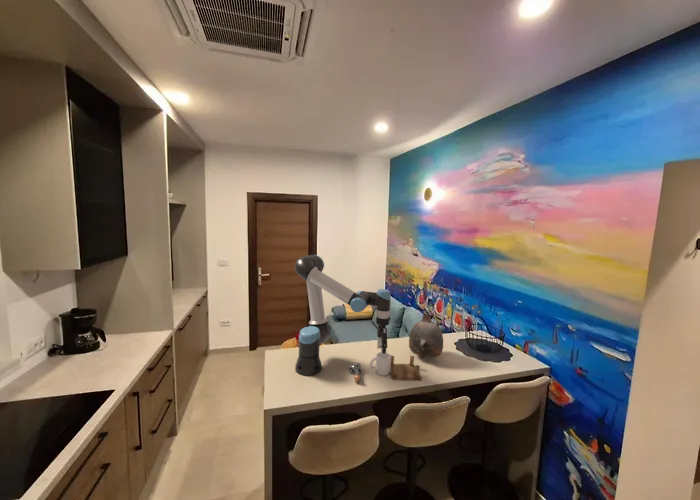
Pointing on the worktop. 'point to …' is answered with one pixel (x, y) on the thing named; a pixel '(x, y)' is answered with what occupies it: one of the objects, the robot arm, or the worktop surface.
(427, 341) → the jug
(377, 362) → the mug
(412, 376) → the peg rest
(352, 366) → the grey metal tool
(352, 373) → the nut washer
